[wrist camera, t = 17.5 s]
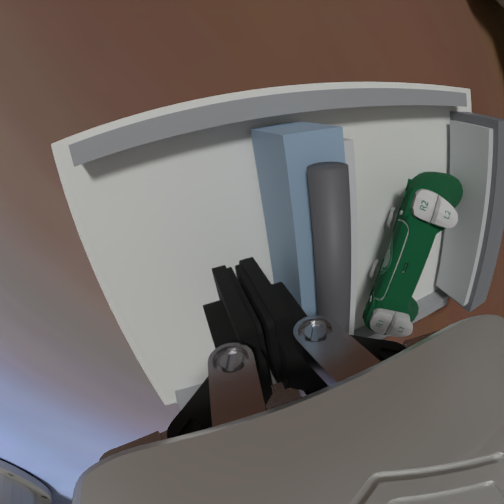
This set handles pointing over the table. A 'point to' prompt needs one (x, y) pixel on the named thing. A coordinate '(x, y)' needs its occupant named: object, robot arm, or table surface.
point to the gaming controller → (410, 251)
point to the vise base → (251, 210)
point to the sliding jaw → (311, 214)
